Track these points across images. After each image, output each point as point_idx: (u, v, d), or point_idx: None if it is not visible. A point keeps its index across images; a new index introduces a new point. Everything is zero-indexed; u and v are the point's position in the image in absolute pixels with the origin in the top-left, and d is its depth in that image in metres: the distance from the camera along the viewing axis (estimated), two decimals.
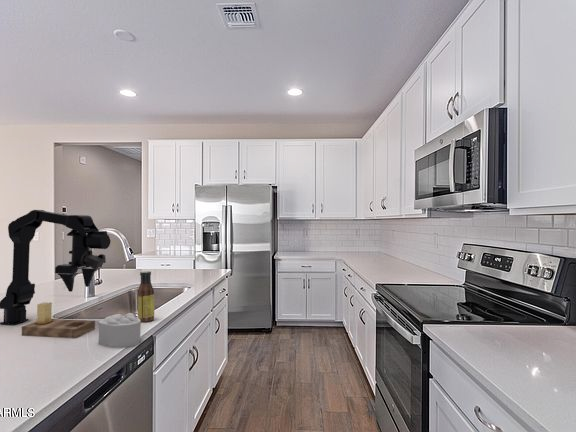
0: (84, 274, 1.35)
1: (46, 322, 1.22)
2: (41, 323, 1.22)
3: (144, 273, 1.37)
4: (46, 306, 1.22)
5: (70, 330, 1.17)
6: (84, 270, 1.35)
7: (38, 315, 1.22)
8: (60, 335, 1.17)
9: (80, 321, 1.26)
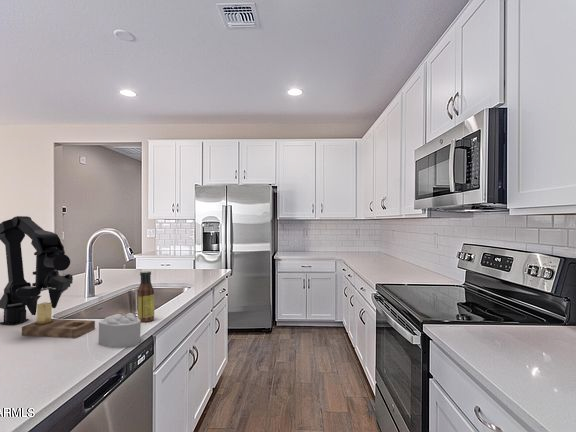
0: (51, 295, 1.28)
1: (46, 322, 1.22)
2: (41, 323, 1.22)
3: (144, 273, 1.37)
4: (46, 306, 1.22)
5: (70, 330, 1.17)
6: (51, 291, 1.29)
7: (38, 315, 1.22)
8: (60, 335, 1.17)
9: (80, 321, 1.26)
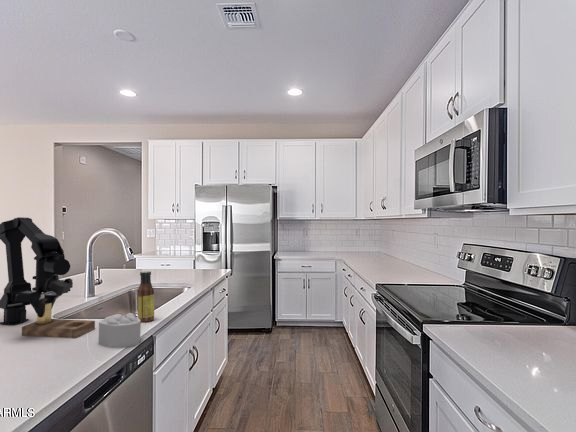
0: (45, 301, 1.25)
1: (46, 322, 1.22)
2: (41, 323, 1.22)
3: (144, 273, 1.37)
4: (46, 306, 1.22)
5: (70, 330, 1.17)
6: (45, 297, 1.26)
7: None
8: (60, 335, 1.17)
9: (80, 321, 1.26)
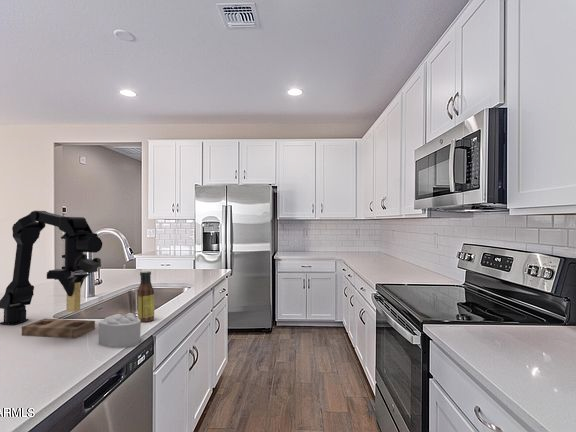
0: (73, 281, 1.24)
1: (76, 301, 1.21)
2: (71, 302, 1.21)
3: (144, 273, 1.37)
4: (75, 285, 1.21)
5: (70, 330, 1.17)
6: (73, 276, 1.25)
7: None
8: (60, 335, 1.17)
9: (80, 321, 1.26)
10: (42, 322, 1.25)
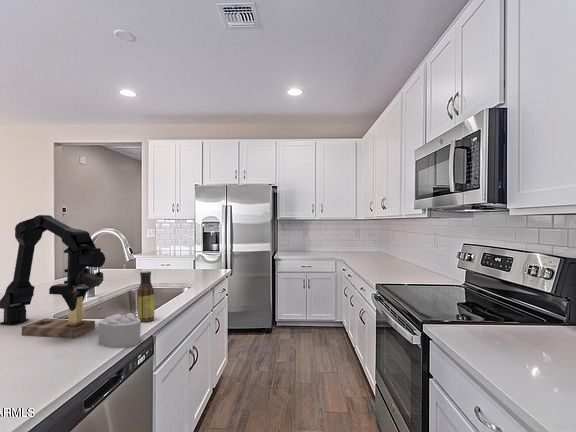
0: None
1: (78, 315, 1.22)
2: (73, 316, 1.21)
3: (144, 273, 1.37)
4: (78, 299, 1.21)
5: (70, 330, 1.17)
6: None
7: None
8: (60, 335, 1.17)
9: None
10: (42, 322, 1.25)
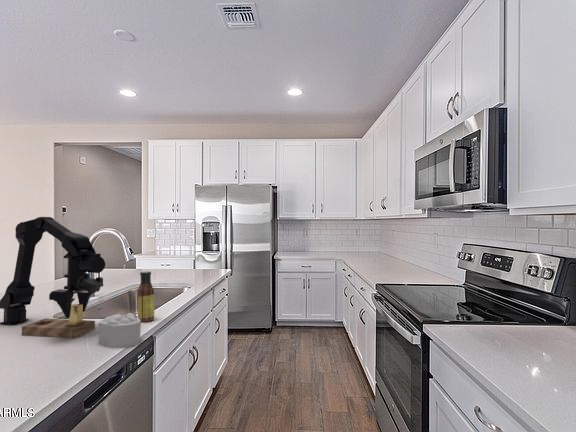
0: (79, 298, 1.27)
1: (78, 323, 1.21)
2: (73, 324, 1.21)
3: (144, 273, 1.37)
4: (78, 307, 1.21)
5: (70, 330, 1.17)
6: (79, 294, 1.27)
7: (70, 316, 1.21)
8: (60, 335, 1.17)
9: None
10: (42, 322, 1.25)
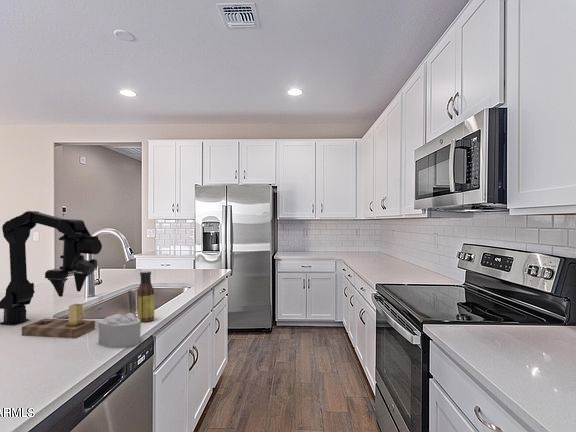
0: (76, 279, 1.34)
1: (78, 323, 1.21)
2: (73, 324, 1.21)
3: (144, 273, 1.37)
4: (78, 307, 1.21)
5: (70, 330, 1.17)
6: (76, 275, 1.34)
7: (70, 316, 1.21)
8: (60, 335, 1.17)
9: None
10: (42, 322, 1.25)
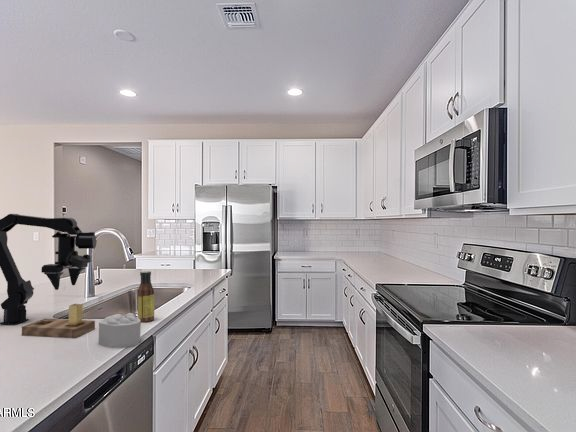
0: (70, 273, 1.43)
1: (78, 323, 1.21)
2: (73, 324, 1.21)
3: (144, 273, 1.37)
4: (78, 307, 1.21)
5: (70, 330, 1.17)
6: (70, 270, 1.43)
7: (70, 316, 1.21)
8: (60, 335, 1.17)
9: None
10: (42, 322, 1.25)
